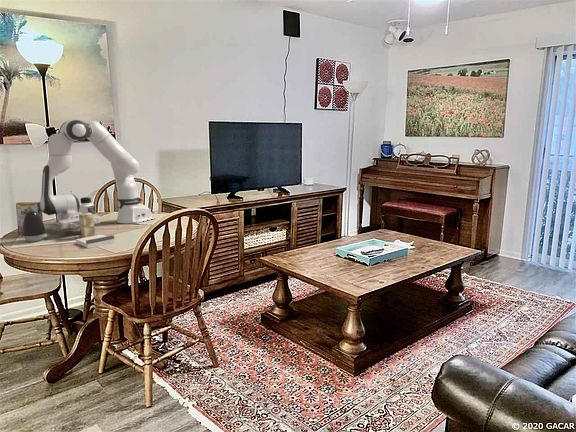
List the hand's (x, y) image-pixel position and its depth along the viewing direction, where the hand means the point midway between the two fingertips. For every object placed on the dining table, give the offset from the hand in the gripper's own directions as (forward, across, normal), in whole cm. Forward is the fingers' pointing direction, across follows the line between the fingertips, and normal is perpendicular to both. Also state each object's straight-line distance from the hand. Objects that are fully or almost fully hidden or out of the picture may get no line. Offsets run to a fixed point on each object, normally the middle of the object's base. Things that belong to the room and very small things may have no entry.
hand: (85, 224), depth 223 cm
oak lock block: (+1, 0, +6) cm, 7 cm away
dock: (+16, -3, +6) cm, 18 cm away
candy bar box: (-30, -17, +6) cm, 35 cm away
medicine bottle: (-53, +23, +7) cm, 58 cm away
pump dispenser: (-12, -21, +7) cm, 25 cm away
